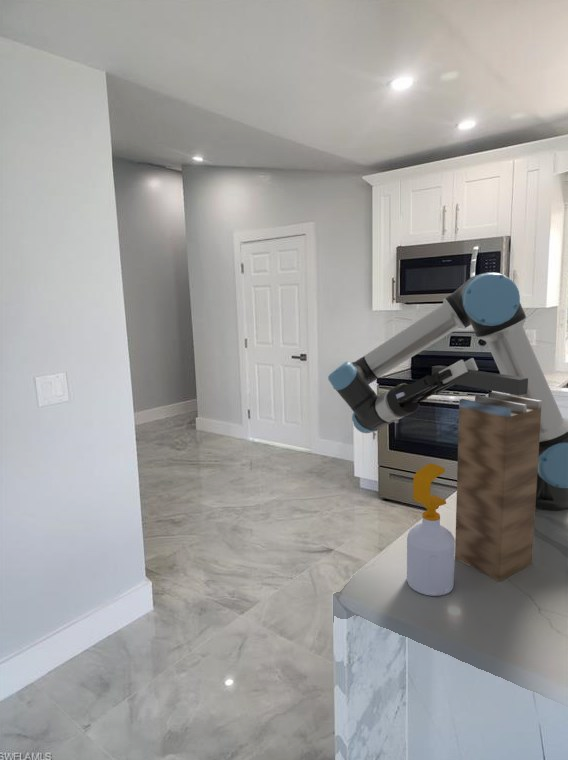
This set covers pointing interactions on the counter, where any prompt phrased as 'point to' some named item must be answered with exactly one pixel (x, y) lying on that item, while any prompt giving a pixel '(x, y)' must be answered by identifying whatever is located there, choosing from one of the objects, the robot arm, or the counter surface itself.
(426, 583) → the soap bottle
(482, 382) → the bar
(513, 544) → the wooden block tower
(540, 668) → the counter surface
